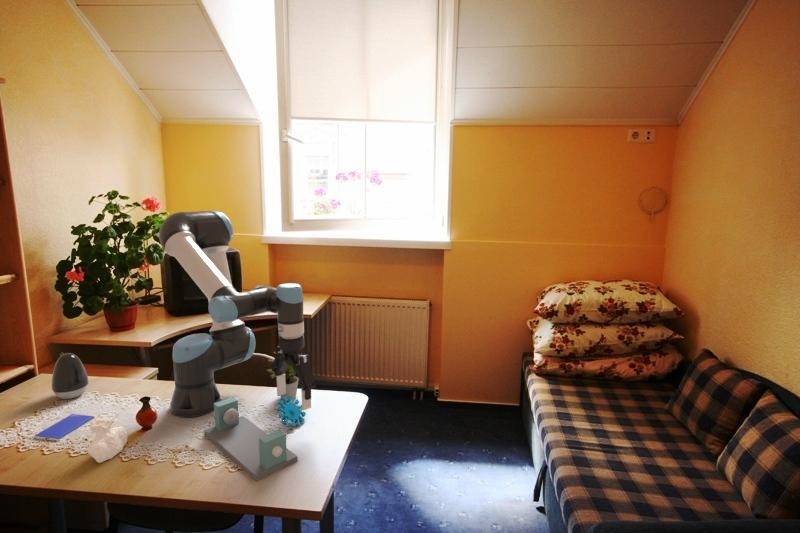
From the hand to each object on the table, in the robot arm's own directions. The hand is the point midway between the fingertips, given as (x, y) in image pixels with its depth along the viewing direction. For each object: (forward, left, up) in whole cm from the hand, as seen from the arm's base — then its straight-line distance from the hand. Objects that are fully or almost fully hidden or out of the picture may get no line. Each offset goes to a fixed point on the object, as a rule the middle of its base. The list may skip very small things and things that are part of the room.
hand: (293, 401), depth 139 cm
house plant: (-17, +9, -7) cm, 21 cm away
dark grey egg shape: (-68, -44, -7) cm, 82 cm away
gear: (-1, 0, -7) cm, 7 cm away
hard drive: (-45, -50, -8) cm, 68 cm away
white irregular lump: (-21, -45, -7) cm, 50 cm away
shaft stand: (+3, -17, -7) cm, 18 cm away
